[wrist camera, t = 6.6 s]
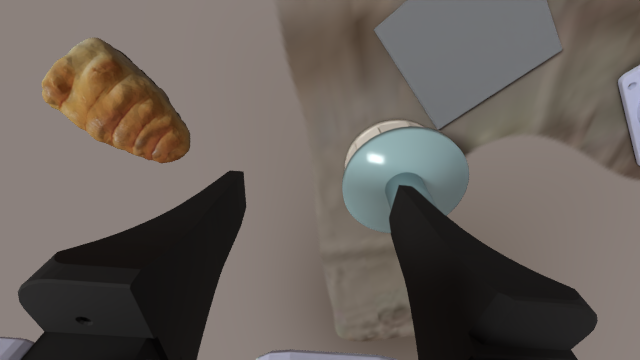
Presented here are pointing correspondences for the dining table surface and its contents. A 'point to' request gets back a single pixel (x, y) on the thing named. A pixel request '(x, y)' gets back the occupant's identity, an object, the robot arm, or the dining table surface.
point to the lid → (403, 173)
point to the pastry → (116, 102)
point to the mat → (466, 49)
